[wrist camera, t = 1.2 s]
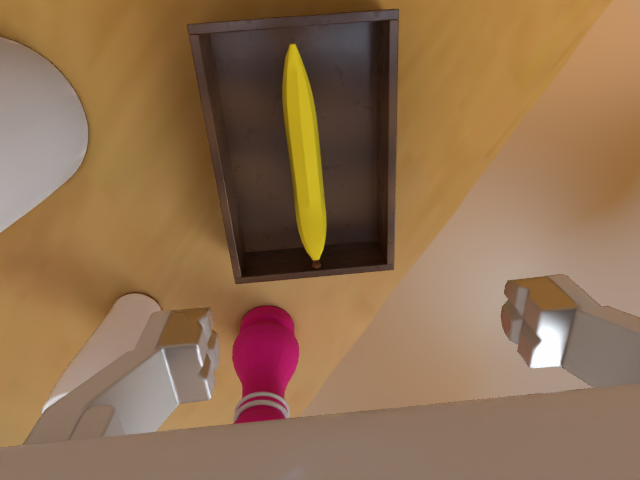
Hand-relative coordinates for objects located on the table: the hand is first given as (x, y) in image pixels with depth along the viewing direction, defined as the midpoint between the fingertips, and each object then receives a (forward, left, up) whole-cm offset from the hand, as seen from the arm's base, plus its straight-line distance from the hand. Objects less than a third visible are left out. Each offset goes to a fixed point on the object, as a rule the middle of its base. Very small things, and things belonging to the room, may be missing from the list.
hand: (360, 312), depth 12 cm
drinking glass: (+21, -21, -31) cm, 43 cm away
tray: (+4, -1, -31) cm, 31 cm away
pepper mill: (+25, -7, -31) cm, 41 cm away
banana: (+4, -1, -31) cm, 31 cm away
